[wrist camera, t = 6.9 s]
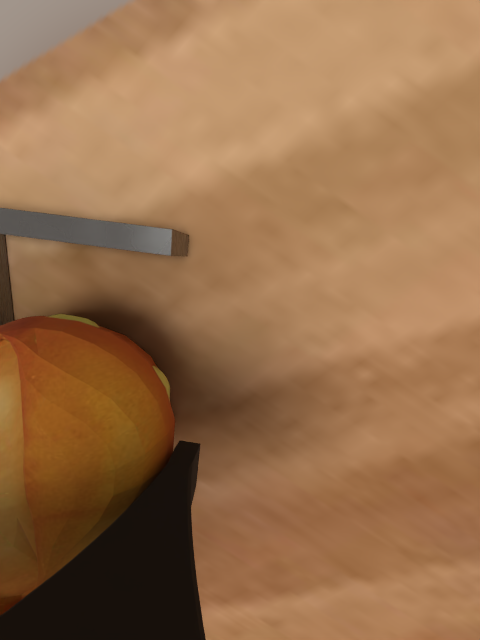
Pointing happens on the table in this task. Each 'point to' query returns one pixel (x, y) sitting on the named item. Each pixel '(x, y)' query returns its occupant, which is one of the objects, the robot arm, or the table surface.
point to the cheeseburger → (72, 441)
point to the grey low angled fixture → (80, 240)
